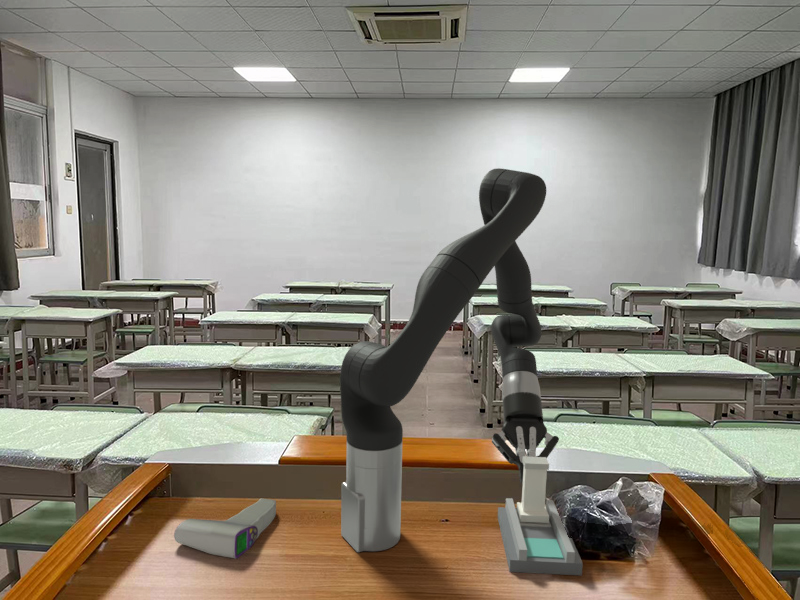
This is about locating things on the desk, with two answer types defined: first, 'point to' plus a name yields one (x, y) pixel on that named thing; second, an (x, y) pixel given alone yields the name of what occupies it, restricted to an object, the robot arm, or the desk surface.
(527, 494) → the switch tab
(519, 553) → the switch panel
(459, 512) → the desk surface
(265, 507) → the infrared thermometer
